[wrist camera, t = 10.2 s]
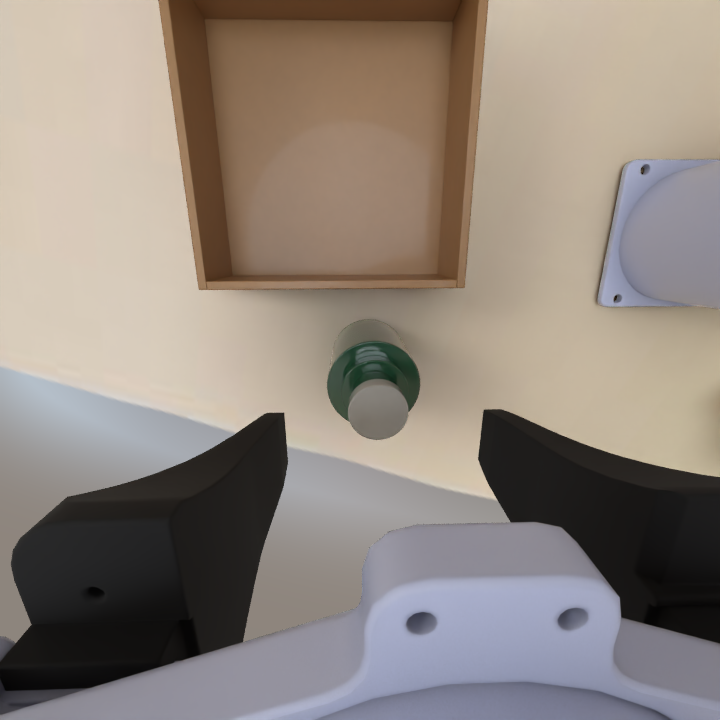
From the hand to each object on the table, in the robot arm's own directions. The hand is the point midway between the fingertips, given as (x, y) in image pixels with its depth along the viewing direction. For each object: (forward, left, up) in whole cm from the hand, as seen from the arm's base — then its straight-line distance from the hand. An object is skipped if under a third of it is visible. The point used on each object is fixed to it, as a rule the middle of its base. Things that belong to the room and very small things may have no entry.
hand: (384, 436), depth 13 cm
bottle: (0, 0, -10) cm, 10 cm away
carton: (+2, -11, -10) cm, 15 cm away
